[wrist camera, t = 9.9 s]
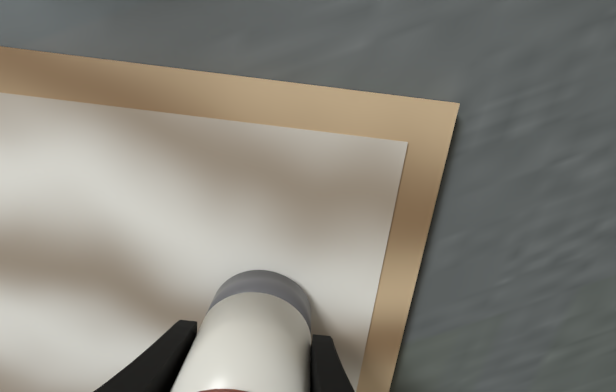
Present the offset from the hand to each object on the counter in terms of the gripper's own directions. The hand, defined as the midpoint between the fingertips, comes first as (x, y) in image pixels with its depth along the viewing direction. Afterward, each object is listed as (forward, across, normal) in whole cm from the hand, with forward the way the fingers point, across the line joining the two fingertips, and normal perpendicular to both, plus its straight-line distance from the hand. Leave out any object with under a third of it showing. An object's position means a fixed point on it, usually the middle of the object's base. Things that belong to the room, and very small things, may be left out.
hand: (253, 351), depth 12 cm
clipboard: (+3, +6, 0) cm, 7 cm away
